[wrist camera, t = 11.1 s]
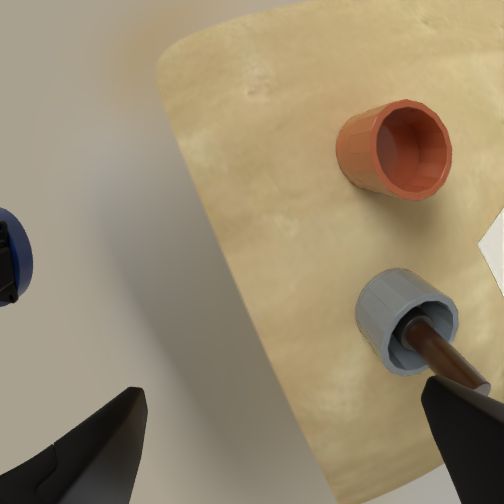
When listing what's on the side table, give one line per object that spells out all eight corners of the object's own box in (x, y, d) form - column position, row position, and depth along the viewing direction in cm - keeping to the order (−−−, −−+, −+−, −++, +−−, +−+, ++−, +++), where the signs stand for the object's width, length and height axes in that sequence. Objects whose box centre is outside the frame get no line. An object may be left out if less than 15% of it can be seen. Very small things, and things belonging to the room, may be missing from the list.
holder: (333, 186, 20) (366, 195, 15) (336, 108, 19) (370, 91, 13) (402, 193, 20) (448, 204, 15) (406, 120, 19) (452, 111, 14)
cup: (349, 342, 23) (372, 380, 18) (361, 267, 22) (392, 295, 17) (414, 337, 23) (444, 369, 19) (429, 268, 22) (467, 291, 17)
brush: (374, 324, 22) (450, 422, 12) (381, 292, 22) (469, 381, 11) (403, 322, 22) (484, 410, 12) (410, 291, 22) (503, 371, 11)
